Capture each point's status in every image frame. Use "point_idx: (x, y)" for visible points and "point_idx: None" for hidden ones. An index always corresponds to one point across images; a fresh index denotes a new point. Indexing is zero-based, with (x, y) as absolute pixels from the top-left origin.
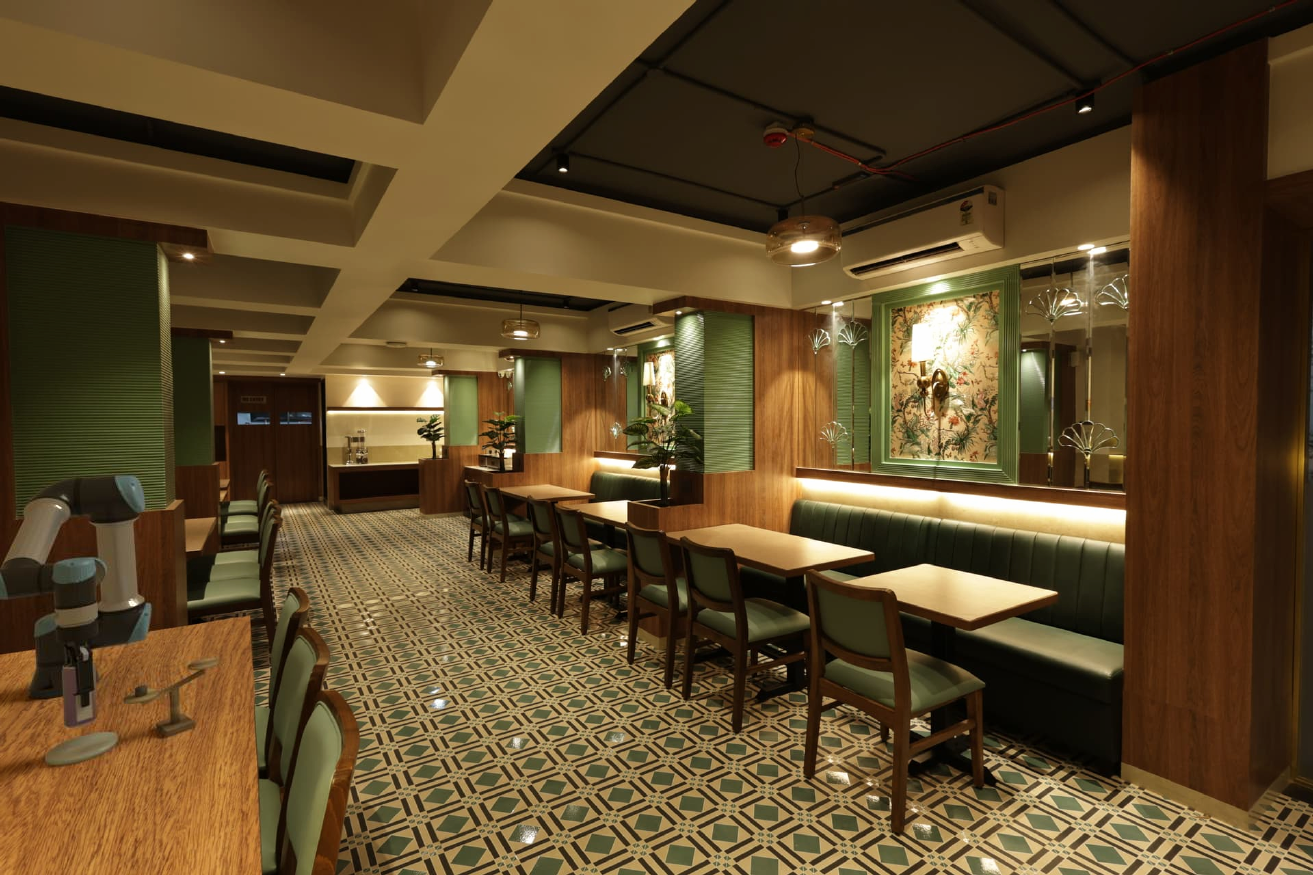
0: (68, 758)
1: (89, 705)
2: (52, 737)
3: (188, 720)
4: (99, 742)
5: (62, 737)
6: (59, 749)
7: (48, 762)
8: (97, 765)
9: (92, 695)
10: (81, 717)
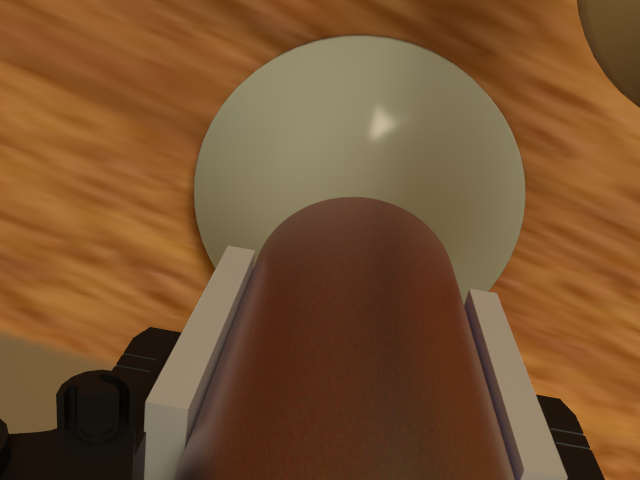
0: None
1: (560, 401)
2: (7, 195)
3: None
4: (411, 148)
5: (56, 172)
6: None
7: None
8: (636, 245)
9: (486, 386)
10: None
